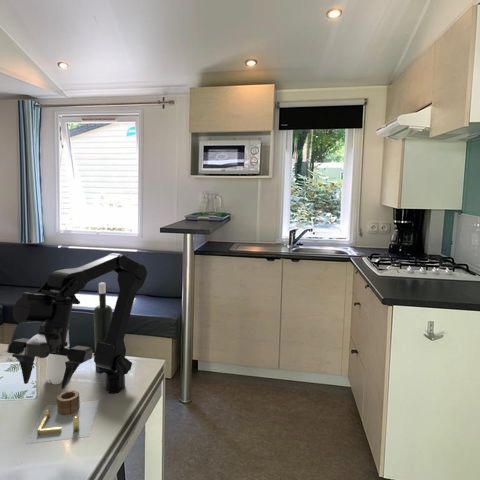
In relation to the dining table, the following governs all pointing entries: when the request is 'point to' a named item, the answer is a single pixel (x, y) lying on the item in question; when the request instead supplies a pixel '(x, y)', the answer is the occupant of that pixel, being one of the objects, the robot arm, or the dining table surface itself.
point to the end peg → (75, 423)
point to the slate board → (66, 423)
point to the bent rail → (47, 430)
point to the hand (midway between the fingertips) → (44, 385)
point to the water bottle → (56, 366)
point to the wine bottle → (101, 318)
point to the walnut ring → (68, 402)
